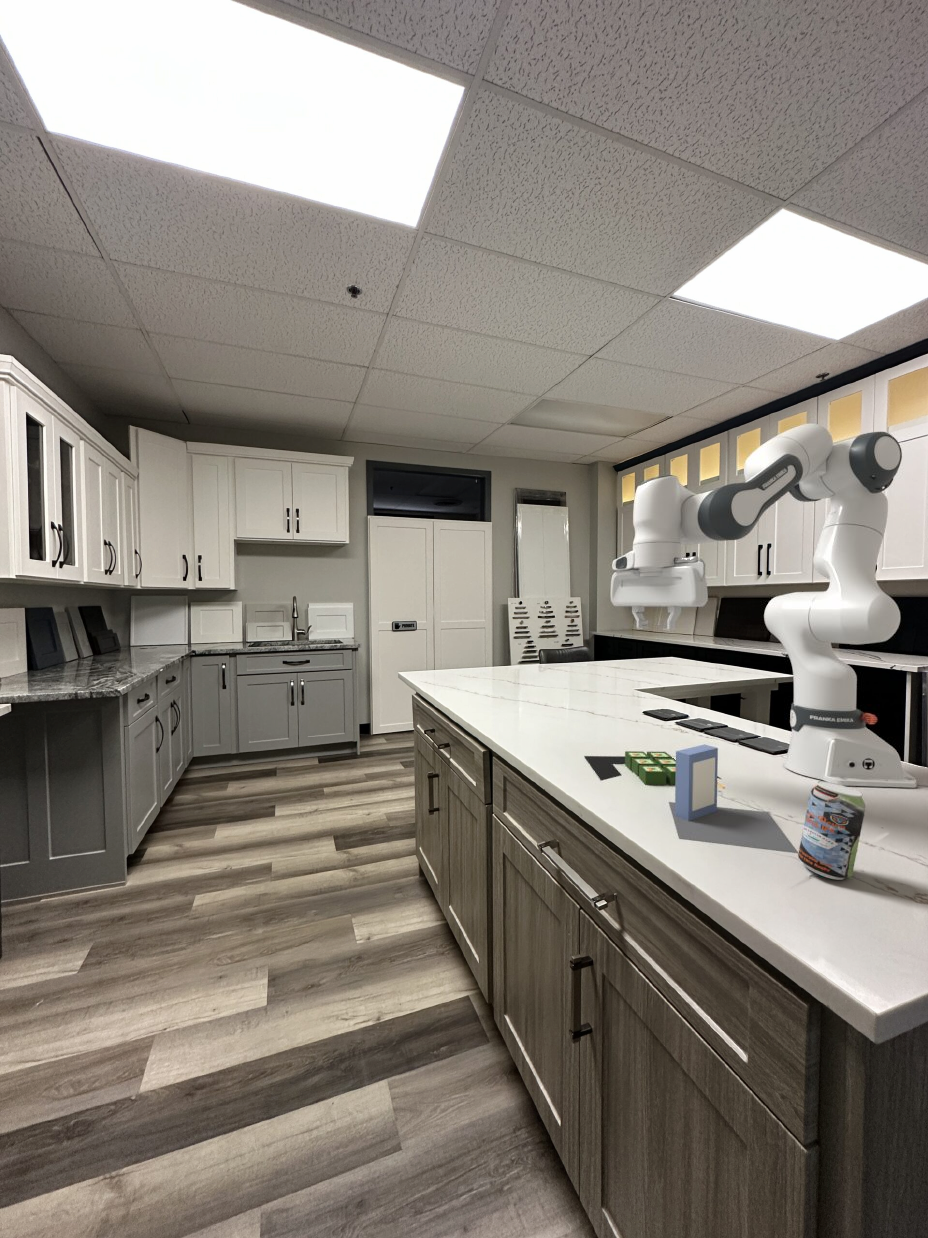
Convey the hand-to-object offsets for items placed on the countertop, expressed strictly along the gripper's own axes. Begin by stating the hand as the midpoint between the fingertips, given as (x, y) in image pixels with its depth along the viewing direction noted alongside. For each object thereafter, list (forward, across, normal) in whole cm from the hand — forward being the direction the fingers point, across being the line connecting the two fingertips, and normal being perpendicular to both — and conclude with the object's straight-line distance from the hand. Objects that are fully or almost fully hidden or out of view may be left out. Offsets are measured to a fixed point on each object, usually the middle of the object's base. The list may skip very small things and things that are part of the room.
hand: (655, 629), depth 101 cm
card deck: (+31, -13, +6) cm, 34 cm away
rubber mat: (+31, -18, +6) cm, 37 cm away
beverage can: (+31, -34, +7) cm, 47 cm away
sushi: (+32, +4, -6) cm, 33 cm away
